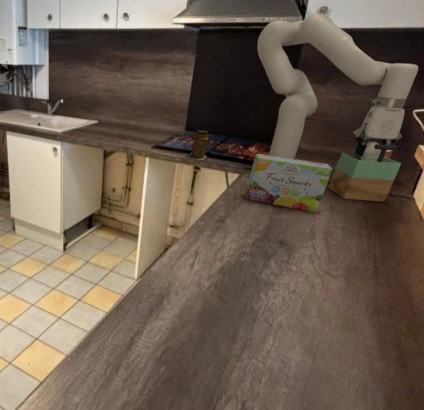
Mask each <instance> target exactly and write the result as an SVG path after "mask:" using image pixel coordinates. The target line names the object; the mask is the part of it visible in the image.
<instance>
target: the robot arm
mask: <svg viewBox="0 0 424 410" xmlns="http://www.w3.org/2000/svg"><path fill="white" fill-rule="evenodd" d="M301 44H302V45H303V44H311V46H313V47H314V48H315V49H317V50H318V51H319V52H320V53H321V54H322V55H324V56H325V57H326V58H327V59H328V60H329V61H330V62H331V63H332V64H333V65H334V66H335V67H336V68H337V69H338V70H339V71H340V72H342V73H343V74H344V75H346V76H347V77H348V79H350V80H352V81H353V82H354V83H356V84H357V85H360V86H377V85H378V86H380V89H379V92H378V94H377V97H376V98H374V99H373V98H372V101H371V102H372V104H373V105H372V106H371V107H370V108H369V110H368V112H367V114H366V116H365V118H364V120H363V122H362V123H361V126H360V127H359V128H357V129H356V130H354V131H353V132H352V135H353V137H354V138H355V140H356V143H357V146H356V149H355V153H354V154H355V155H356V156H357V157H361V156H363V154H364V151H365V149H366V145H367V143H369V142H370V139H379V140H380V141H381V143H380V145H392V144H394V143H396V142H397V141H398V140H399V139H402V137H403V136H402V135H403V134H401V132H400V131H401V129H402V125H403V121H404V117H405V109H403V108H404V106H405V103H406V101H407V98H408V96H409V93H410V91H411V89H412V86H413V83H414V81H415V79H416V76H417V74H418V72H419V66H418V65H417V64H415V63H414V64H413V63H401V62H400V63H399V62H396V63H389V62H384V61H378V60H374V59H373V58H371V56H369V55H368V54H366V53H365V52H364V51H362V49H360V48H359V47H358V46H357V45H356V43H355V41H354V40H353V37H352V36H351V35H350V34H349V33H347V32H346V31H344V29H342V28H341V27H339V26H338V25H337V24H335V23H334V20H333V19H332V18H331V17H329V16H327V15H325V14H321V13H311V14H310V15H308V16H306V17H305V18H304V19H303V20H298V21H287V20H284V19H283V20H282V19H279V20H273V21H271V22H269V23H267V25H265V27H264V28H263V29H262V30H261V32H260V34H259V37H258V38H257V45H256V46H257V54H258V57H259V59H260V62H261V64H262V66H263V69H264V70H265V71H264V72H265V73H266V76H267V78H268V80H269V82H270V85H271V88H272V89H273V91H274V93H276V94H278V95H284V97H285V99H284V100H283V101H282V102H281V104H280V105H279V108H278V109H279V110H278V116H277V122H276V126H275V130H274V134H273V138H272V141H271V145H270V149H269V152H268V155H270V156H277V157H284V158H290V159H295V158H296V155H297V151H298V149H299V146H300V142H301V139H302V135H303V132H304V127H305V123H306V122H305V121H306V118H309V117H310V116H312V115H313V114H314V113H315V112H316V111H317V109H318V99H317V96H316V94H315V91H314V90H313V88H312V85H311V83H310V81H309V79H308V77H307V75H306V74H305V73H304V71H302V70H301V69H297V68H294V67H293V65H292V63H291V62H290V60H289V56H288V54H287V53H286V52H285V50H284V48H283V47H288V46H296V45H301Z"/></svg>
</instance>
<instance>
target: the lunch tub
mask: <svg viewBox="0 0 424 410" xmlns="http://www.w3.org/2000/svg"><path fill="white" fill-rule="evenodd" d="M374 148H375V149H380V150H381V152H380V155H379V157H378V160H377V161H363V160H361V159H357V158H355V157H353V156H351V155H349V154H346V153H345V152H341V154H340V157H339V160H338V161H337V162H336V166H335V168H336V169H338V170H340V171H342V172H344V173H345V174H347V175H349V176H351V177H356V178H370V179H383V180H394V181H395V179H396V177H397V174H398V172H399V170H400V167H401V165H402V163H401V162H398V161H396V160H393V159H391V158H386V157H384V156H385V153H386V151H387V150H393V151H396V150H397V145H392V144H391V145H381V143H378V144H376V145H375V146H374Z"/></svg>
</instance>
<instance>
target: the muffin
mask: <svg viewBox="0 0 424 410" xmlns="http://www.w3.org/2000/svg"><path fill="white" fill-rule="evenodd" d="M376 144H379V143H378V142H376V141H368V142H367V143H366V144H365V145H366V149H365V151H364V154H363V156H360V160H363V161H374V160H375V159H377V158H378V157H379V155H380V152H381V150H380V149H375V148H374V146H375V145H376Z"/></svg>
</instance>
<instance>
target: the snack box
mask: <svg viewBox="0 0 424 410" xmlns="http://www.w3.org/2000/svg"><path fill="white" fill-rule="evenodd" d="M251 167H252V168H251V170H250V174H249V179H248V181H247V185H246V186H247V187H246V189H245V193H244V194H245V200H248V201H254V202H259V203H265V204H270V205H275V206H279V207H285V208H290V209H295V210H301V211H305V212H310V213H317V212H318V209H319V206H320V204H321V201H322V199H323V197H324V193H325V190H326V188H327V186H328V183H329V180H330V178H331V176H332V172H333V168H332V167H331V166H330V164H329V163H323V162H316V161H311V160H310V161H309V160H303V159H298V158H297V159H295V158H294V159H290V158H284V157H277V156H270V155H269V154H262V153H256V154H255V157H254V160H253V162H252V166H251Z"/></svg>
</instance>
